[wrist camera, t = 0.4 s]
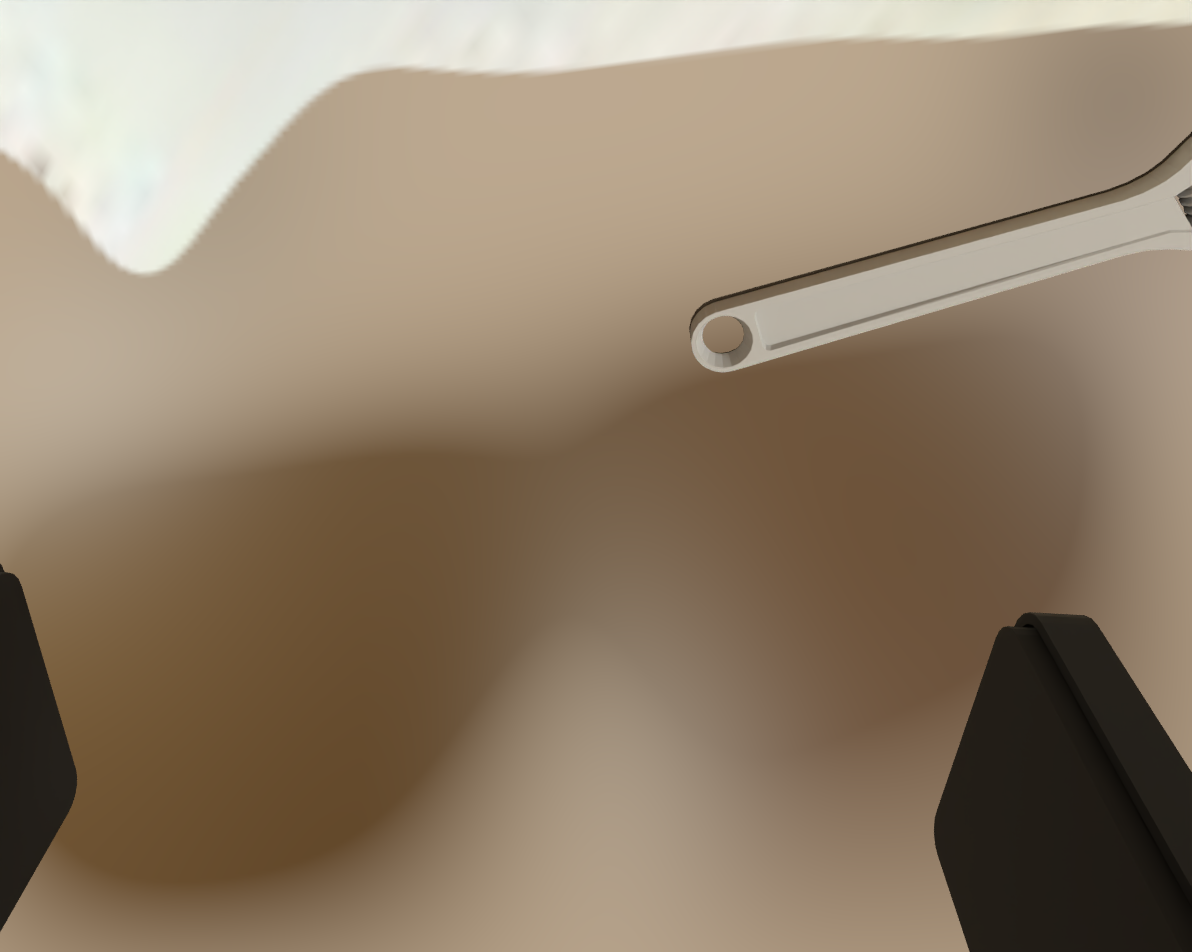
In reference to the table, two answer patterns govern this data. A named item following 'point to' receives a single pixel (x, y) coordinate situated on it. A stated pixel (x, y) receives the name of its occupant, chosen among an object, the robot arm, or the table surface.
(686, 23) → the table surface
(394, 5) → the table surface
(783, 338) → the adjustable wrench
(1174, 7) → the table surface
